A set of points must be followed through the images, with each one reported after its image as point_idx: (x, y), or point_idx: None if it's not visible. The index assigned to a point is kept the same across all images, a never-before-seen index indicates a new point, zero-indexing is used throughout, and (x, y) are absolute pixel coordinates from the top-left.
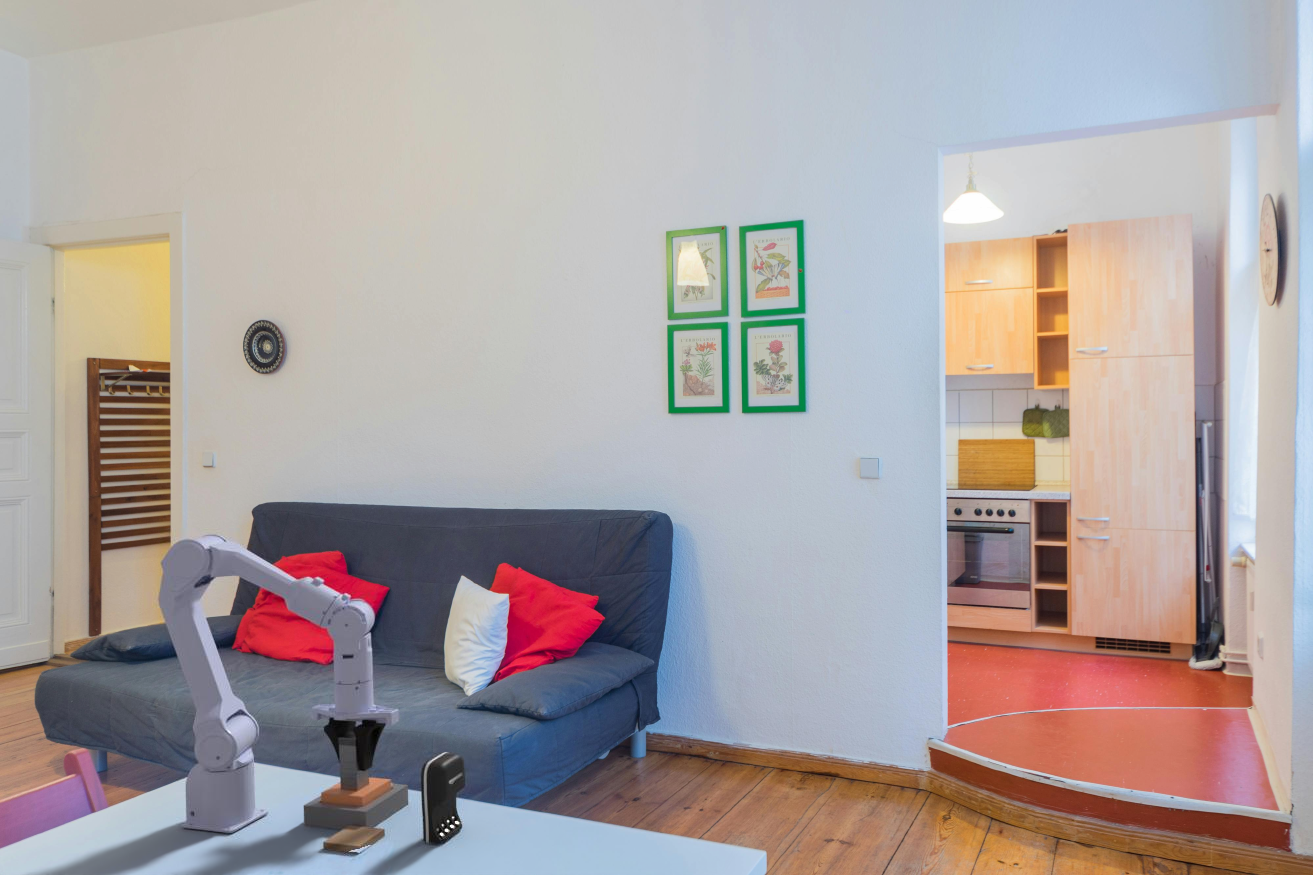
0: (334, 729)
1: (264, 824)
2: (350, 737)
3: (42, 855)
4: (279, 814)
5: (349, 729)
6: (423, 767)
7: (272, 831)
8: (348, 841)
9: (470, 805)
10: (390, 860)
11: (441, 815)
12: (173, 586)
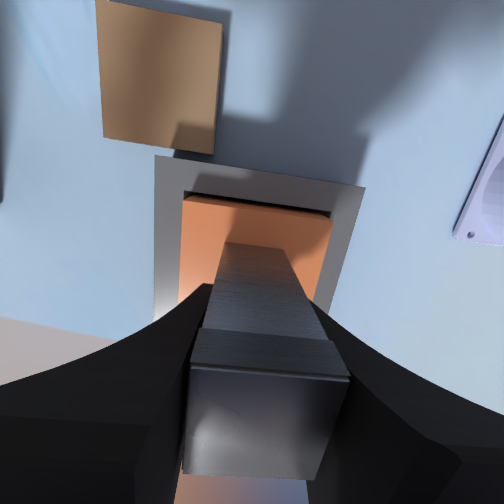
0: (430, 440)
1: (439, 180)
2: (253, 389)
3: None
4: (423, 236)
5: (327, 495)
6: None
7: (405, 141)
8: (150, 37)
9: (32, 313)
10: None
11: None
12: None
